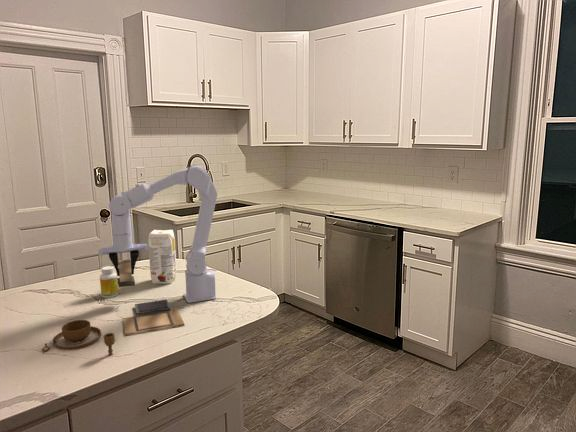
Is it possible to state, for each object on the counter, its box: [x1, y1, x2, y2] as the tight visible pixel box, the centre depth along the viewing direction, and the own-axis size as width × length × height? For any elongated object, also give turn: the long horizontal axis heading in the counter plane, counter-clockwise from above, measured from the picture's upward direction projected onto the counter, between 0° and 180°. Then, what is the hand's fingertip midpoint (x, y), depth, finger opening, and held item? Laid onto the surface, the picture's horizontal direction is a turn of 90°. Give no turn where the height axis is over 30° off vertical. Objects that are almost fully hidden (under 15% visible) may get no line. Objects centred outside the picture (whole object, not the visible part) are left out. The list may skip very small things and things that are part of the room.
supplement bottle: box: [99, 265, 119, 299], centre depth 151 cm, size 5×5×10 cm
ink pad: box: [134, 299, 172, 316], centre depth 140 cm, size 10×8×1 cm
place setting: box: [41, 319, 116, 357], centre depth 117 cm, size 18×20×6 cm
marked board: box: [122, 309, 185, 337], centre depth 131 cm, size 16×11×1 cm
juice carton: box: [147, 229, 177, 285], centre depth 164 cm, size 8×9×19 cm
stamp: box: [117, 259, 136, 289], centre depth 143 cm, size 5×5×8 cm
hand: (125, 274), depth 143 cm, fingers closed on stamp, 4 cm apart
